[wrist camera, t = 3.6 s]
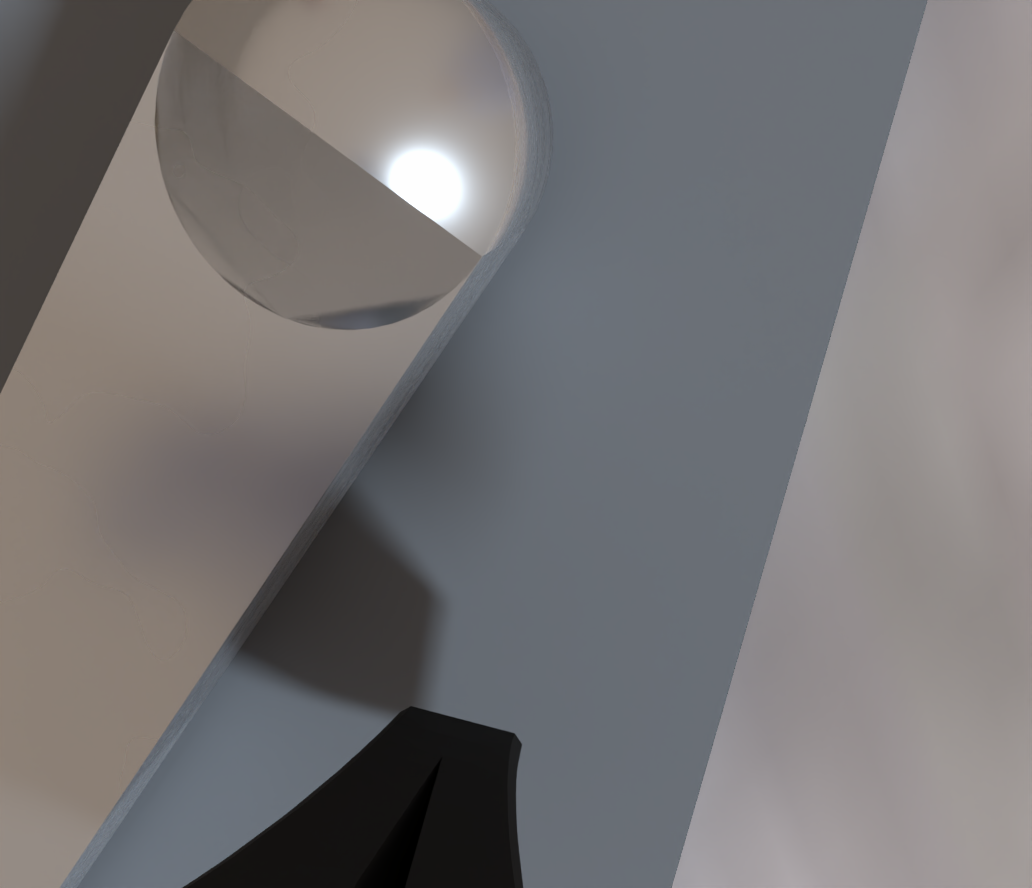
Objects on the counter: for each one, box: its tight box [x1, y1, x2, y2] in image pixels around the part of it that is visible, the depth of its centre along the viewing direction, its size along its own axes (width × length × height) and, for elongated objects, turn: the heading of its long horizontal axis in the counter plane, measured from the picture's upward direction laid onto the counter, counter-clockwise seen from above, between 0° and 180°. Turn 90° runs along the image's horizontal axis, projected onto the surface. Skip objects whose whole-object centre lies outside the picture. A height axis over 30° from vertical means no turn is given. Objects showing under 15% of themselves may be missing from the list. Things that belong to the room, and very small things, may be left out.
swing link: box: [0, 0, 553, 888], centre depth 12 cm, size 21×4×2 cm, turn 146°
